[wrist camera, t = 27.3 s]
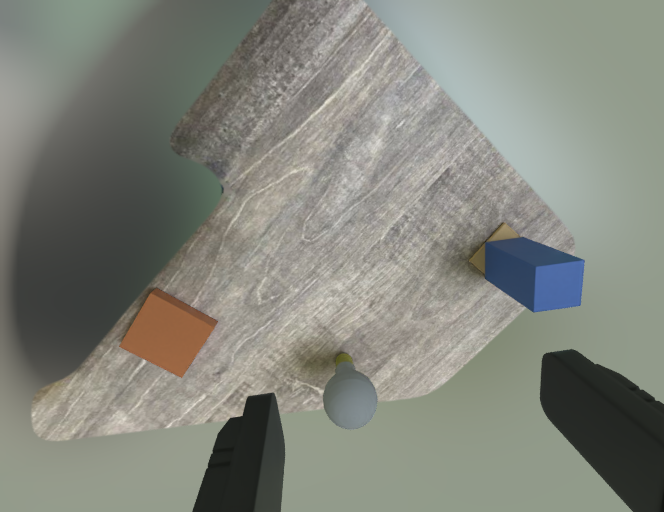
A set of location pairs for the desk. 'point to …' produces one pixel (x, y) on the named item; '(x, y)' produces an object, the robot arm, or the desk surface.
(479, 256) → the mat
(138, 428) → the desk surface
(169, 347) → the orange-brown square slab
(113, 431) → the desk surface
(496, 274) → the block
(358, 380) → the light bulb
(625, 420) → the robot arm
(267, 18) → the desk surface
